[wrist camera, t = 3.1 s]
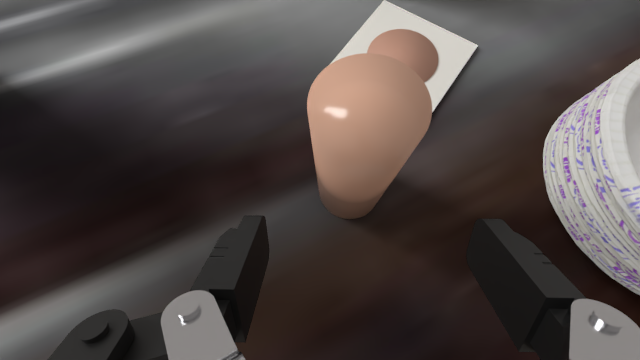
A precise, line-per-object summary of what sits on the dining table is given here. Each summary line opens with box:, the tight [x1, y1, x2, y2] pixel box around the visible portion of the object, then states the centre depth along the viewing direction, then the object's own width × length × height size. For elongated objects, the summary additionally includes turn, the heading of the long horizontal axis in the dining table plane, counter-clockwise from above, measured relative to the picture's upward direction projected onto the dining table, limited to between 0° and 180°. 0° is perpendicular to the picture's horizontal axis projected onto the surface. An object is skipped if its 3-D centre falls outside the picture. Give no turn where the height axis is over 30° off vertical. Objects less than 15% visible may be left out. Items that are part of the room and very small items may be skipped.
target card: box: [331, 0, 478, 112], centre depth 26 cm, size 10×10×1 cm
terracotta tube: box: [307, 53, 432, 219], centre depth 17 cm, size 5×5×12 cm
